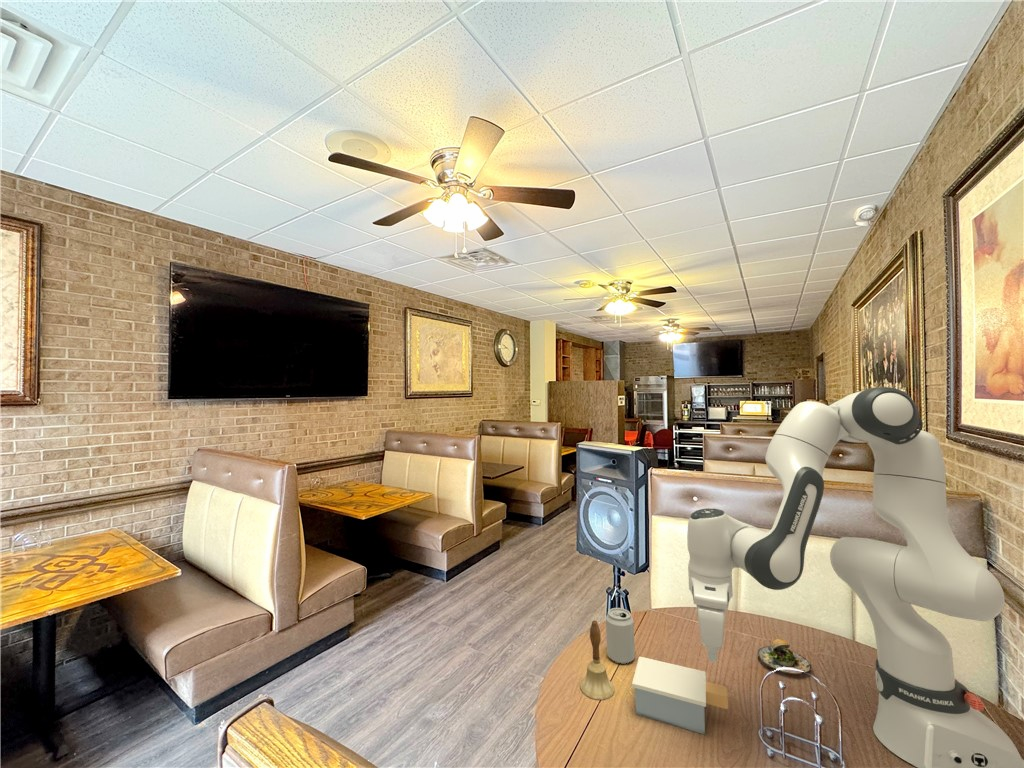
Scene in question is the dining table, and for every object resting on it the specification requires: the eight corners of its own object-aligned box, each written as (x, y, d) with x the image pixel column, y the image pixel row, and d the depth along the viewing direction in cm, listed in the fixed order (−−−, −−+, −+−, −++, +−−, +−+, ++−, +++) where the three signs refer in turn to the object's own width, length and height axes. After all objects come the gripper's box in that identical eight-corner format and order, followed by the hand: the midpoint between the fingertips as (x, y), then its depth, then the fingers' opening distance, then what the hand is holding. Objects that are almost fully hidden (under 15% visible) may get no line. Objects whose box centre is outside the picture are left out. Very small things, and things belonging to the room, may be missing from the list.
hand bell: (617, 701, 95) (614, 630, 96) (581, 699, 95) (579, 629, 97) (611, 677, 103) (609, 613, 104) (579, 676, 104) (577, 612, 105)
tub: (704, 703, 93) (703, 676, 94) (704, 734, 84) (703, 704, 85) (642, 686, 99) (641, 661, 100) (635, 714, 90) (634, 686, 91)
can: (636, 667, 107) (634, 620, 108) (607, 664, 108) (605, 618, 109) (633, 650, 114) (632, 607, 115) (606, 648, 116) (605, 605, 117)
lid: (726, 688, 92) (725, 676, 92) (729, 721, 82) (728, 708, 82) (639, 666, 100) (639, 656, 101) (632, 695, 90) (632, 683, 91)
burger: (760, 673, 104) (758, 643, 104) (755, 648, 115) (753, 621, 115) (817, 685, 99) (815, 653, 99) (806, 658, 110) (804, 630, 110)
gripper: (695, 566, 101) (697, 623, 100) (693, 599, 82) (695, 670, 81) (724, 570, 98) (726, 629, 97) (728, 605, 80) (731, 679, 78)
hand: (712, 648), depth 89 cm, fingers open, 8 cm apart
